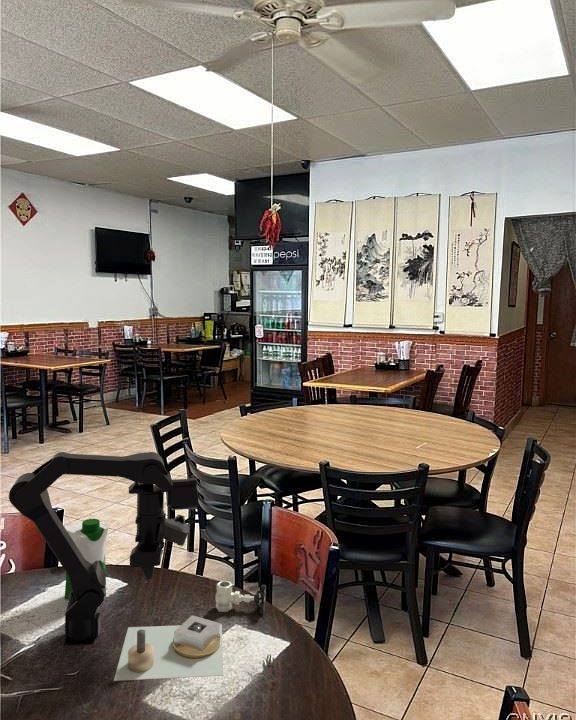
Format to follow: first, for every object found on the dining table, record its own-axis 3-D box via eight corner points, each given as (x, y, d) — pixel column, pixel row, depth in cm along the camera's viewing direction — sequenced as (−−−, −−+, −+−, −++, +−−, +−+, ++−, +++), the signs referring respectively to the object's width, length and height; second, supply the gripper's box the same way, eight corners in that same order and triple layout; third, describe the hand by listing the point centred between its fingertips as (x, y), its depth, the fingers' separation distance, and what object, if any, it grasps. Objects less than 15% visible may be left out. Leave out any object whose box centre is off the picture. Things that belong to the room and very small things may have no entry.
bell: (171, 660, 114) (171, 642, 113) (174, 631, 124) (175, 615, 123) (220, 657, 115) (220, 640, 115) (219, 630, 125) (220, 613, 125)
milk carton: (80, 611, 131) (80, 529, 129) (58, 598, 136) (58, 519, 135) (111, 596, 138) (112, 519, 136) (89, 584, 143) (90, 510, 142)
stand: (126, 673, 109) (126, 639, 108) (129, 657, 114) (130, 625, 113) (152, 672, 110) (152, 638, 109) (154, 656, 115) (155, 624, 114)
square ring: (173, 642, 117) (174, 631, 117) (191, 625, 124) (192, 615, 123) (202, 651, 115) (202, 640, 114) (219, 633, 121) (219, 623, 121)
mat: (113, 682, 107) (113, 680, 107) (128, 629, 125) (128, 627, 125) (223, 677, 110) (223, 675, 110) (221, 625, 127) (222, 623, 127)
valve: (212, 617, 131) (263, 619, 131) (213, 590, 130) (264, 593, 130) (217, 602, 138) (265, 605, 137) (218, 577, 137) (266, 579, 137)
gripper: (185, 526, 114) (183, 599, 116) (189, 496, 133) (187, 558, 134) (129, 527, 113) (128, 600, 114) (141, 496, 131) (140, 560, 132)
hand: (149, 578), depth 124 cm, fingers closed
